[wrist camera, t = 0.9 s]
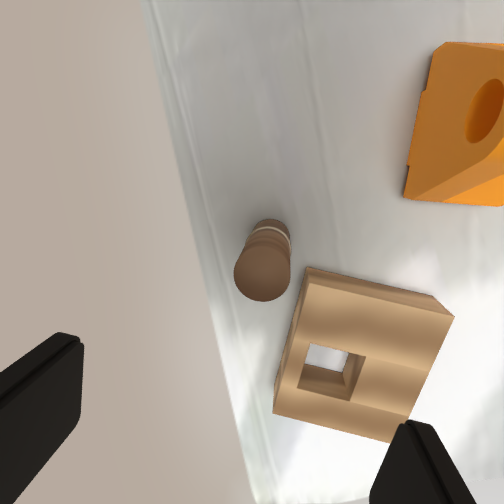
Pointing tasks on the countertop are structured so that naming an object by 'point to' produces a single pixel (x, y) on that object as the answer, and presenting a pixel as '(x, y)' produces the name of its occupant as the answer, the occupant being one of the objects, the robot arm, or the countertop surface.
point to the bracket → (460, 128)
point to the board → (359, 354)
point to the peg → (264, 262)
